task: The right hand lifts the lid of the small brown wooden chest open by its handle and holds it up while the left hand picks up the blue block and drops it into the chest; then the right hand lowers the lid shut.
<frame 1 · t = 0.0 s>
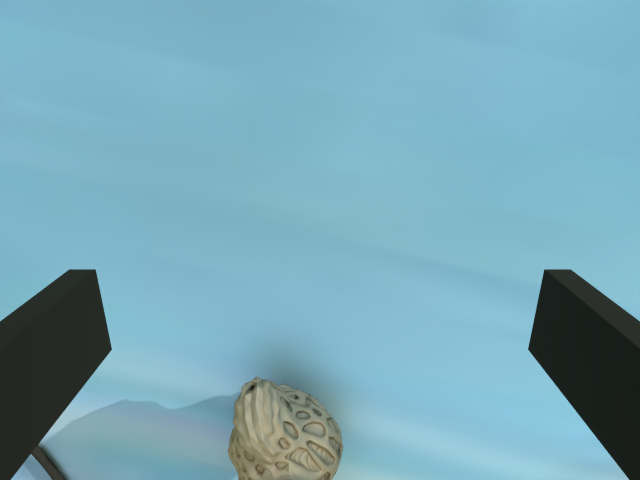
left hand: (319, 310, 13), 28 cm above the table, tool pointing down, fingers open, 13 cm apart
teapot: (291, 414, 49), on the table
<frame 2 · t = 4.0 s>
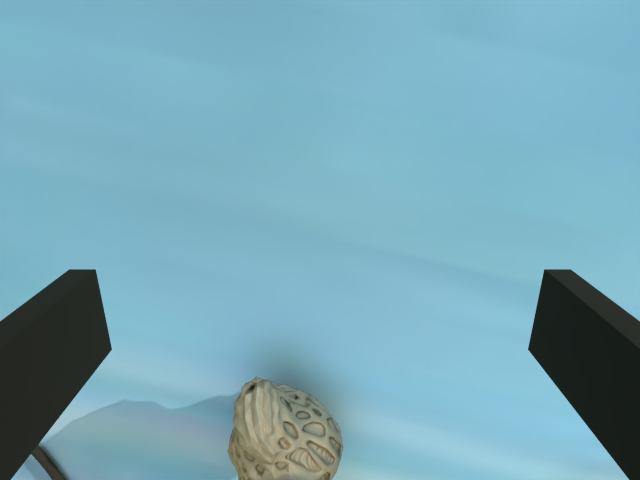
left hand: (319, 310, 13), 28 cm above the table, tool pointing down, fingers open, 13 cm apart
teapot: (291, 414, 49), on the table
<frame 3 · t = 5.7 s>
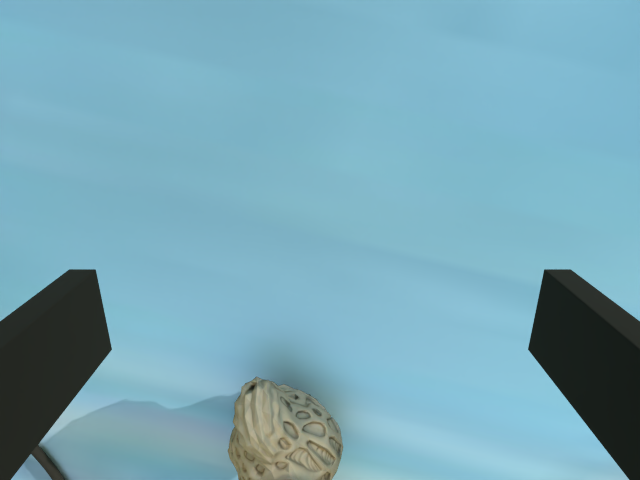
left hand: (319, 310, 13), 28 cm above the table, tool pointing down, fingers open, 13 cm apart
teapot: (291, 414, 49), on the table
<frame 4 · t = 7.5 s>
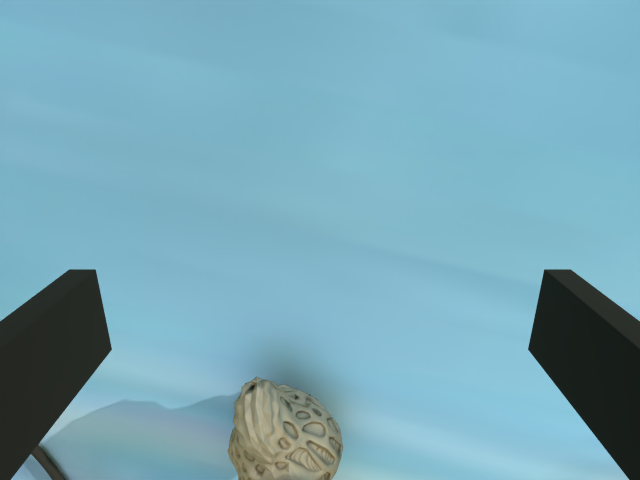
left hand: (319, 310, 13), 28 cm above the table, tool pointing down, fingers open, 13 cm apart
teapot: (291, 414, 49), on the table
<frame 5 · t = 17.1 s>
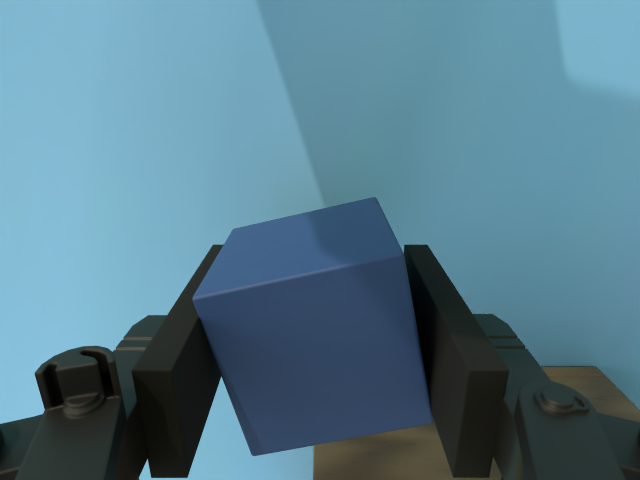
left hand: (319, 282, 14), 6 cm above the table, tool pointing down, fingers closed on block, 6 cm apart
chest: (445, 446, 25), on the table
block: (320, 277, 15), point 6 cm above the table, touching left hand
when the left hand's fingers open (16 cm above the table, at t = 20.0 s): block drops 15 cm, resting on chest.
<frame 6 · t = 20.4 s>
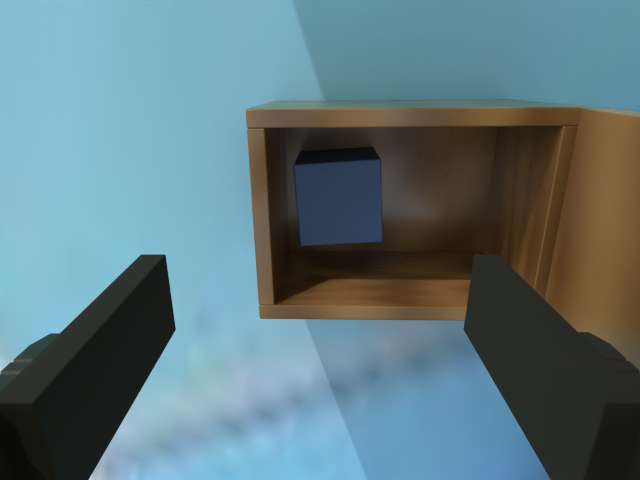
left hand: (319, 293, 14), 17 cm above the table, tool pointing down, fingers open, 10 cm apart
chest: (386, 184, 29), on the table, touching block
block: (338, 185, 29), point 1 cm above the table, touching chest
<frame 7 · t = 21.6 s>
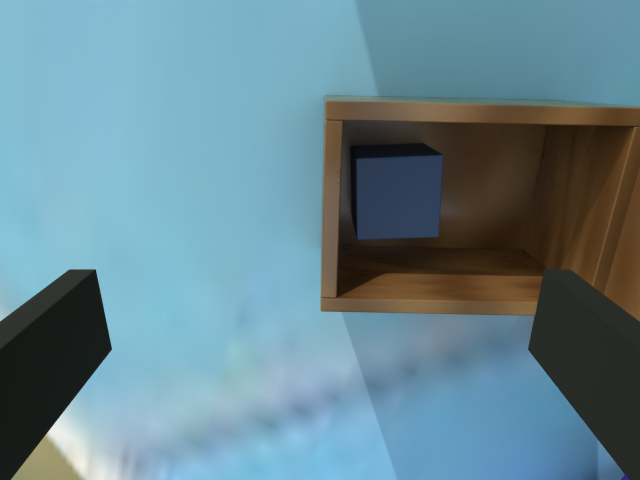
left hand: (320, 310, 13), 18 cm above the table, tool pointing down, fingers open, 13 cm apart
chest: (432, 180, 30), on the table, touching block
block: (386, 180, 29), point 1 cm above the table, touching chest
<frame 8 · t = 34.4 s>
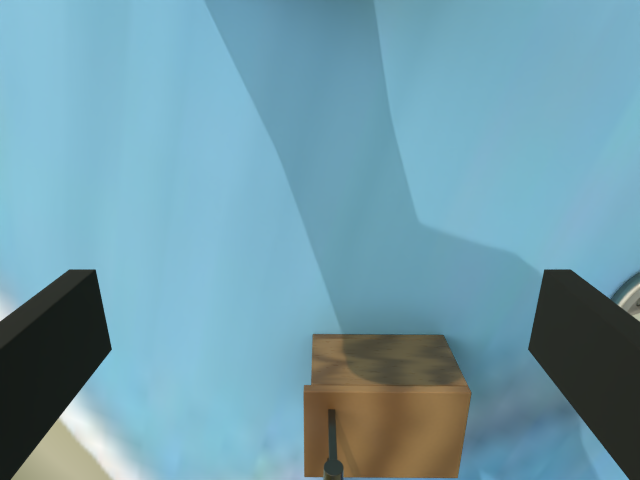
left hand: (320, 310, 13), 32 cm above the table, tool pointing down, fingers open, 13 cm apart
lid: (389, 464, 39), point 13 cm above the table, hinge at -0.1°
chest: (375, 373, 52), on the table, touching block
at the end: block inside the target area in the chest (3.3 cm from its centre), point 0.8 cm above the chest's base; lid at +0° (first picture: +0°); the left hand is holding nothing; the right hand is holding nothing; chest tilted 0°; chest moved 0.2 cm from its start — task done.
